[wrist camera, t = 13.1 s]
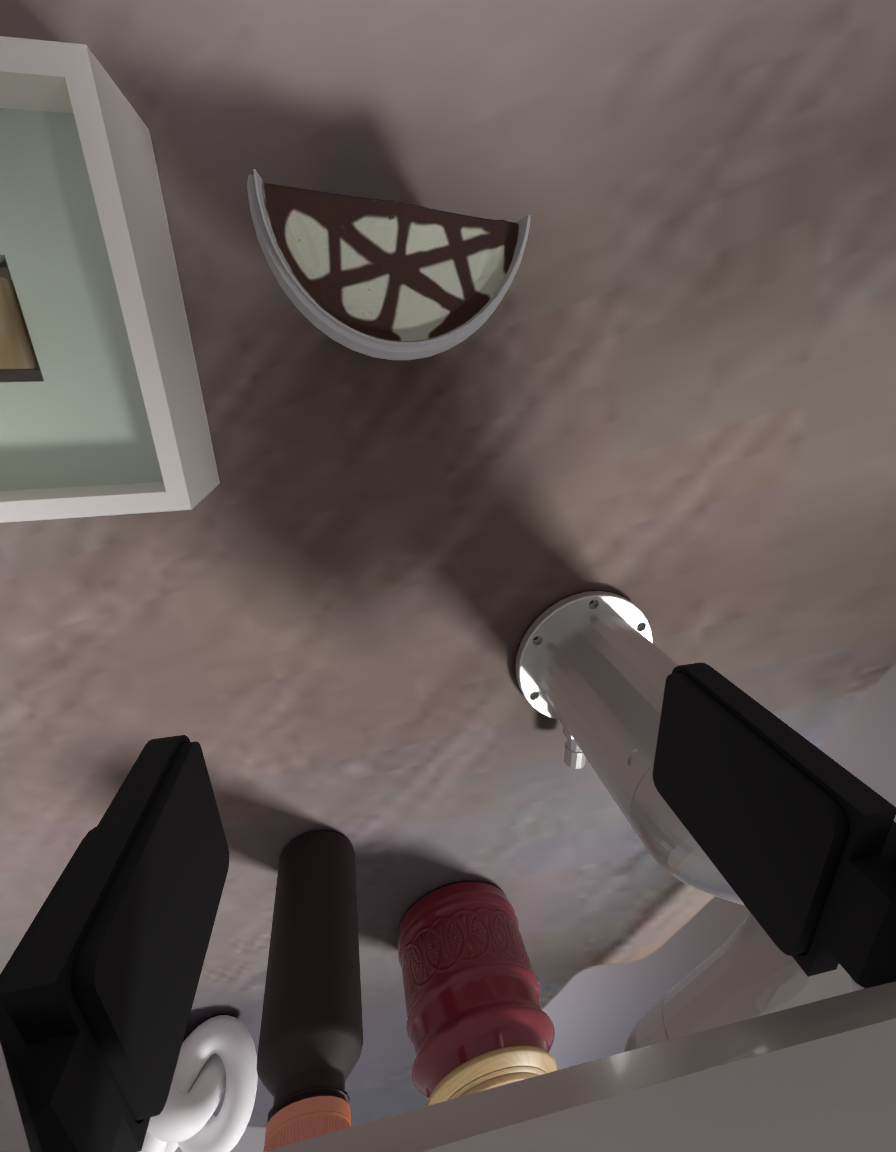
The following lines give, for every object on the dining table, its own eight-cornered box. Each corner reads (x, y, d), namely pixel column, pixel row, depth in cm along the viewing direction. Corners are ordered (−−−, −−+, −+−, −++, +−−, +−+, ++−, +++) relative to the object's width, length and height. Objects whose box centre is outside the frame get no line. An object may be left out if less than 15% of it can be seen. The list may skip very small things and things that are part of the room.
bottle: (368, 841, 46) (391, 1141, 28) (328, 888, 47) (325, 1205, 29) (305, 818, 43) (285, 1133, 25) (264, 869, 45) (218, 1205, 26)
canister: (466, 967, 57) (518, 1197, 41) (372, 947, 52) (389, 1200, 36) (533, 893, 54) (617, 1107, 38) (441, 864, 49) (493, 1096, 33)
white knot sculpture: (249, 985, 50) (233, 1102, 42) (276, 1046, 55) (266, 1163, 47) (131, 1020, 48) (90, 1150, 40) (169, 1080, 53) (140, 1207, 45)
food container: (275, 355, 30) (250, 345, 21) (269, 236, 27) (237, 166, 18) (470, 372, 32) (523, 369, 23) (479, 265, 30) (542, 216, 21)
